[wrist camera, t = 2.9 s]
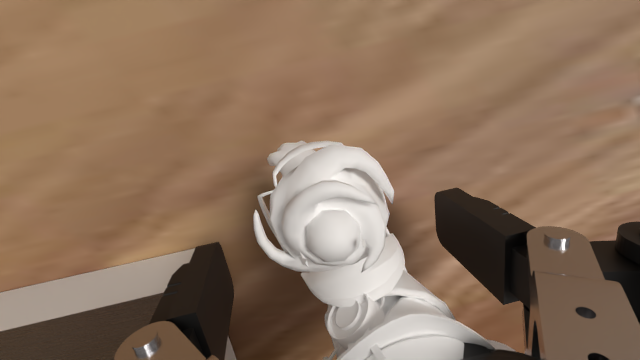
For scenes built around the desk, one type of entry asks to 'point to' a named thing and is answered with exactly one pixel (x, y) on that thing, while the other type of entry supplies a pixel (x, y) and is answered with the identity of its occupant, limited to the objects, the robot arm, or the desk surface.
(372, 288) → the white toy figure
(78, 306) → the shelf board
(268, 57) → the desk surface
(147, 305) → the rail
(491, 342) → the monster figurine
